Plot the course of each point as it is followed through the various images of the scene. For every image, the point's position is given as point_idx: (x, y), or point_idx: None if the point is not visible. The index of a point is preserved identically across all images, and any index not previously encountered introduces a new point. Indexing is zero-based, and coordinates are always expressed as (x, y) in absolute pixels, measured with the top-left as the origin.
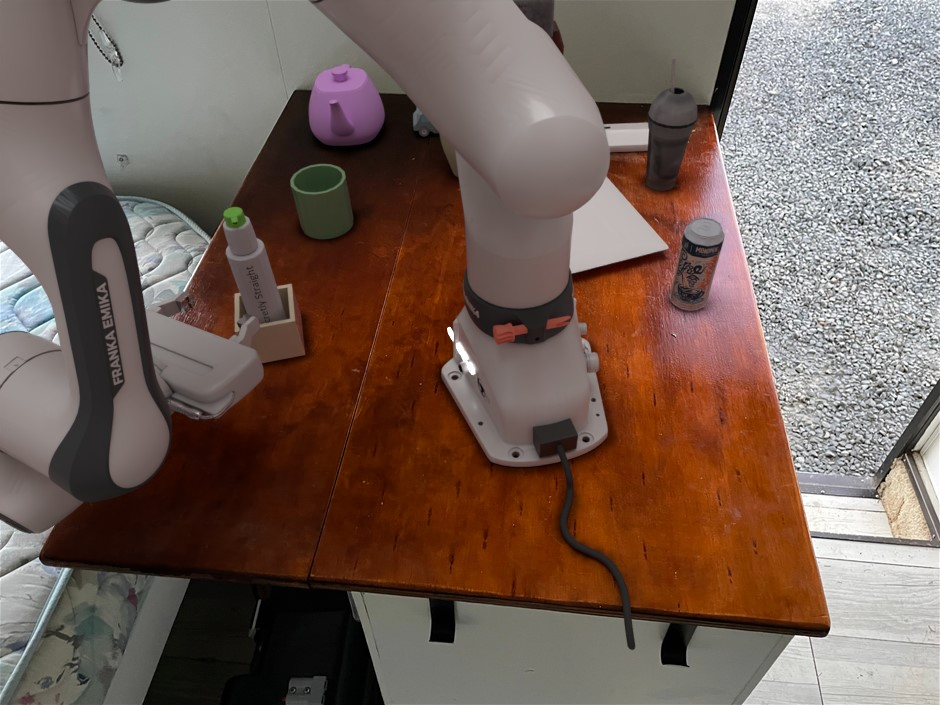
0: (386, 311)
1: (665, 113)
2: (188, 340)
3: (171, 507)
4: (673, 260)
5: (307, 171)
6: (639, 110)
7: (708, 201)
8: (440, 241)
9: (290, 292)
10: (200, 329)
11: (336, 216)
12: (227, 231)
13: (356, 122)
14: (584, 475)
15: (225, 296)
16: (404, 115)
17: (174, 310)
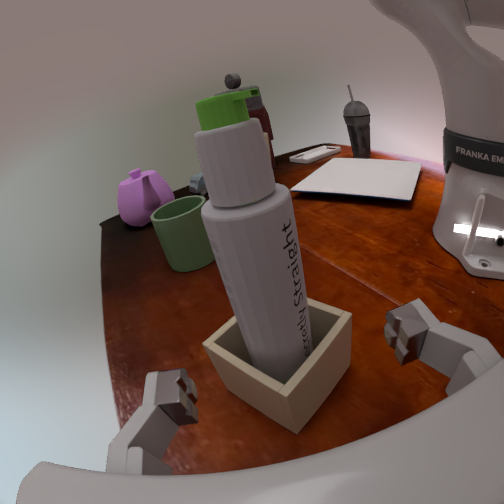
0: (354, 272)
1: (360, 109)
2: (430, 483)
3: None
4: (424, 170)
5: (159, 212)
6: (303, 150)
7: (390, 155)
8: (306, 217)
9: None
10: (398, 426)
11: None
12: (227, 133)
13: (160, 195)
14: None
15: (156, 368)
16: (178, 197)
17: (166, 431)
